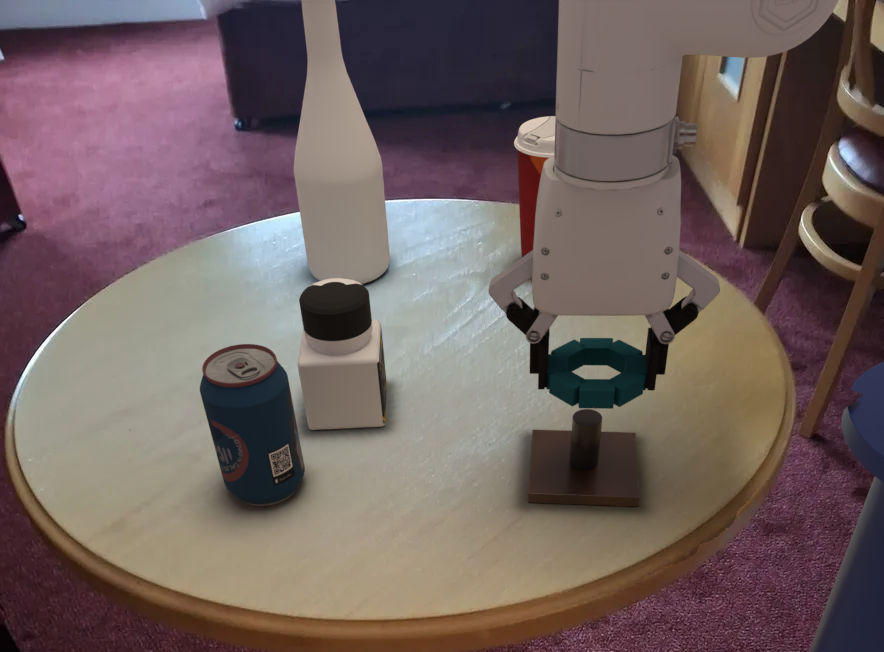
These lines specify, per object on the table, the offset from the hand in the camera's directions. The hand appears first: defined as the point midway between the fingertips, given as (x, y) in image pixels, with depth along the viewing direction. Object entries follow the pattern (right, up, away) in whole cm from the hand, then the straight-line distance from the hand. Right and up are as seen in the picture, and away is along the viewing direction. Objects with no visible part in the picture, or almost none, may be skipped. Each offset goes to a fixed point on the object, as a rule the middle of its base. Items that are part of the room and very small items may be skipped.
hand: (595, 379), depth 72 cm
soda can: (-27, -8, +7) cm, 29 cm away
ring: (0, 0, 0) cm, 1 cm away
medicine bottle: (-21, +1, +15) cm, 26 cm away
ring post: (0, -6, +6) cm, 9 cm away
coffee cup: (0, +21, +33) cm, 39 cm away
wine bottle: (-23, +21, +35) cm, 46 cm away
